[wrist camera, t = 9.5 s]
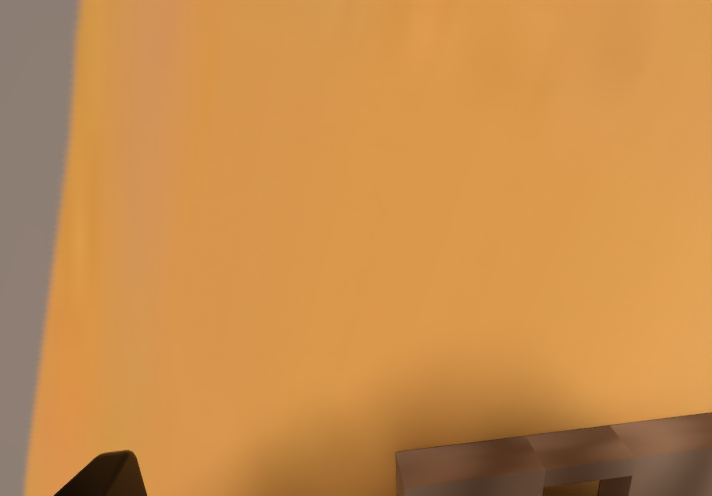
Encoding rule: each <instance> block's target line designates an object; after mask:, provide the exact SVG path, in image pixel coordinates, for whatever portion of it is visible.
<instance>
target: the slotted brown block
mask: <svg viewBox="0 0 712 496" xmlns="http://www.w3.org/2000/svg"><path fill="white" fill-rule="evenodd" d="M396 477H397V496H543V488H544V487H551V486H559V485H566V484H574V483H581V482H588V481H596V480H601V481H600V487H599V493H598V496H712V413H705V414H697V415H689V416H681V417H673V418H665V419H657V420H649V421H641V422H633V423H625V424H617V425H609V426H601V427H593V428H585V429H577V430H569V431H561V432H553V433H545V434H537V435H529V436H521V437H513V438H505V439H497V440H489V441H481V442H473V443H466V444H458V445H450V446H442V447H434V448H426V449H418V450H410V451H402V452H396Z"/></svg>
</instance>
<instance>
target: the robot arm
mask: <svg viewBox="0 0 712 496" xmlns="http://www.w3.org/2000/svg"><path fill="white" fill-rule="evenodd" d="M54 496H147V493H146V489H145V486H144V482H143V479H142V475H141V472H140V468H139V465H138V461H137V458H136V456H135V454H134V453H133V452H132V451H129V450H124V451H116V452H107V453H103V454H100V455H98V456H97V457H96V458H94V459H93V460H92V461H91V462H90V463H89V464H88V465H87V466H86V467H84V468H83V469H82V470H81V471H80V472H79V473H78V474H77V475H76V476H75V477H73V478H72V479H71V480H70V481H69V482H68V483H67V484H66V485H65V486H64V487H62V488H61V489H60V490H59V491H58V492H57V493H56V494H55V495H54Z"/></svg>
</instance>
